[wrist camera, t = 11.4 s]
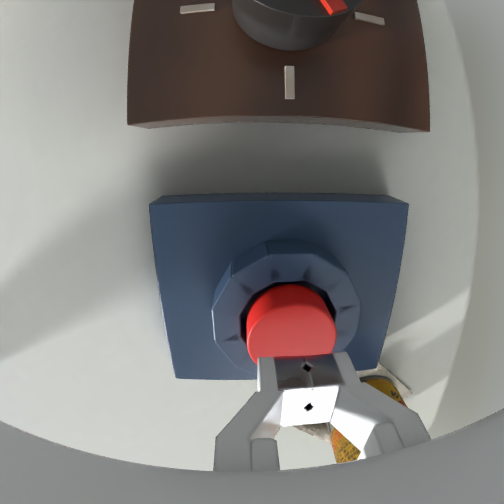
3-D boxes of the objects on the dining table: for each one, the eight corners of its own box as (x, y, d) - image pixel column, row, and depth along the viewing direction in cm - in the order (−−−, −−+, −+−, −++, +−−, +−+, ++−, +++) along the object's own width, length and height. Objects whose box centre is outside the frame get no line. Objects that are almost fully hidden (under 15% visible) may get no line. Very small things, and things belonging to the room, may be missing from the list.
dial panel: (385, -19, 10) (408, -41, 7) (400, 132, 14) (432, 132, 11) (157, -29, 10) (142, -56, 7) (148, 128, 13) (125, 125, 10)
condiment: (411, 391, 20) (469, 502, 9) (333, 444, 22) (361, 555, 11) (370, 353, 18) (442, 502, 7) (279, 418, 20) (296, 559, 9)
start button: (331, 281, 12) (342, 301, 11) (322, 348, 14) (330, 372, 12) (245, 284, 12) (246, 305, 11) (247, 352, 14) (247, 377, 12)
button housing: (389, 195, 15) (429, 212, 11) (365, 348, 18) (386, 388, 14) (161, 195, 15) (134, 213, 11) (181, 355, 18) (169, 400, 14)
